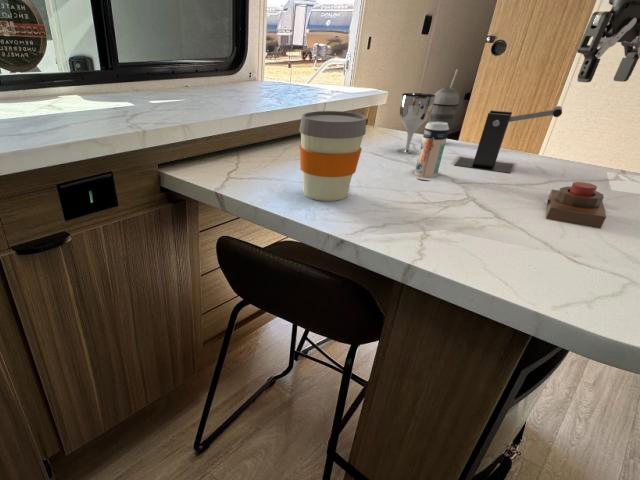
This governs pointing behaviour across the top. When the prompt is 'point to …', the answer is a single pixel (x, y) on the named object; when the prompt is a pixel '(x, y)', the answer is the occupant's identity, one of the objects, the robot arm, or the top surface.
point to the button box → (576, 208)
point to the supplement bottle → (431, 149)
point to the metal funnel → (415, 112)
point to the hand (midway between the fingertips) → (601, 81)
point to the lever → (538, 114)
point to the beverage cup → (445, 104)
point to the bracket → (490, 145)
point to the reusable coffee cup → (330, 152)
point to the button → (583, 189)
